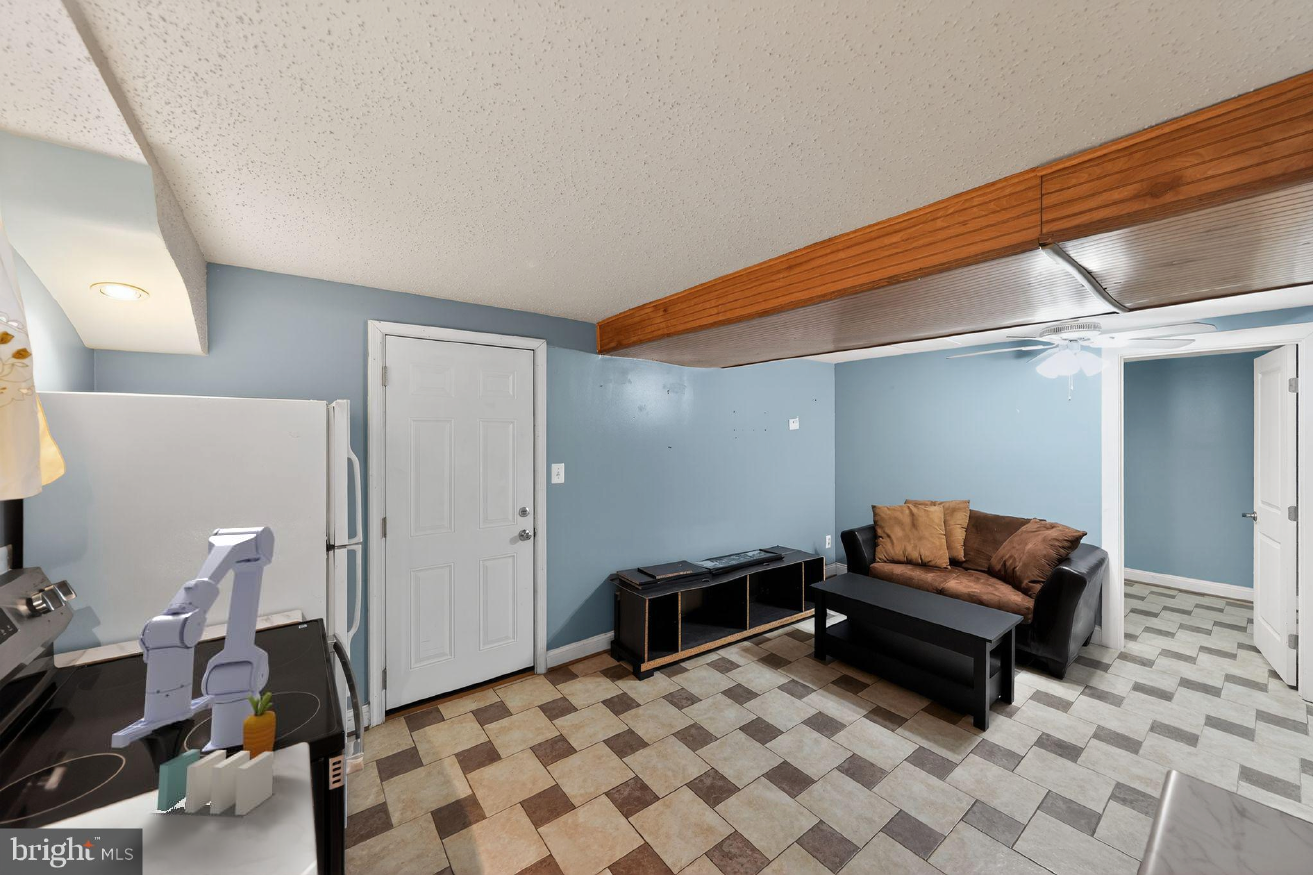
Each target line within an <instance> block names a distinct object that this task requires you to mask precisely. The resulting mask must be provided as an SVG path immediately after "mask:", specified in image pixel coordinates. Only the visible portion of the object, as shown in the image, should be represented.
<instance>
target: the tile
mask: <svg viewBox="0 0 1313 875" xmlns="http://www.w3.org/2000/svg"><path fill="white" fill-rule="evenodd" d="M200 755H201V749H193V748H191V749H190V750H188V751H186V752H184V753H181V754H180V755H178V757H176V758H174V759H172V760H170V761H168V762H166V763H164V764H162V765H160V773H158V775H159V776H158V777H159V778H158V794H157V808H156V809H157V810H161V811H167V810H169V809H170V808H172V807H174V806H175V805H176V804H177V803H179V801H181V800H182V799H184V798H185V797H186V784H187V766H189V765H191V764H193V763H195V762H197V761H198V760H200V759H201V758H200V757H201V756H200Z"/></svg>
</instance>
